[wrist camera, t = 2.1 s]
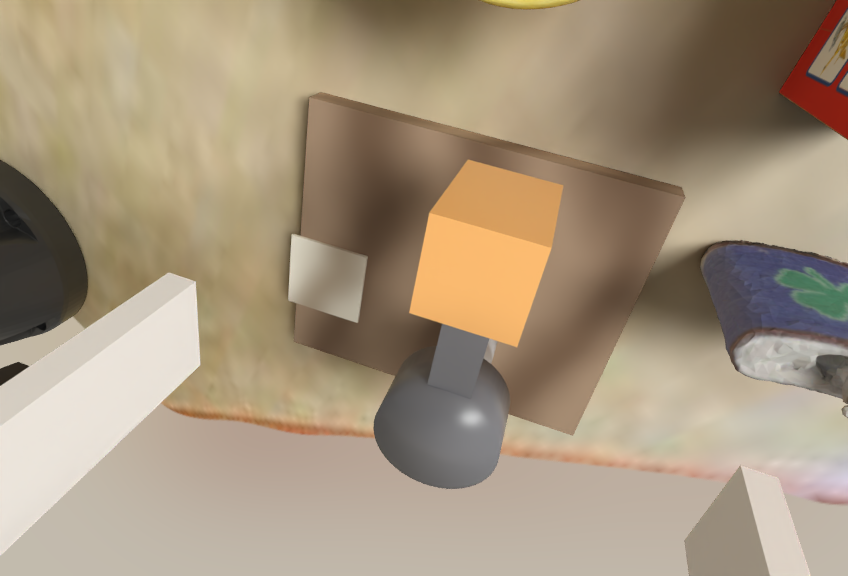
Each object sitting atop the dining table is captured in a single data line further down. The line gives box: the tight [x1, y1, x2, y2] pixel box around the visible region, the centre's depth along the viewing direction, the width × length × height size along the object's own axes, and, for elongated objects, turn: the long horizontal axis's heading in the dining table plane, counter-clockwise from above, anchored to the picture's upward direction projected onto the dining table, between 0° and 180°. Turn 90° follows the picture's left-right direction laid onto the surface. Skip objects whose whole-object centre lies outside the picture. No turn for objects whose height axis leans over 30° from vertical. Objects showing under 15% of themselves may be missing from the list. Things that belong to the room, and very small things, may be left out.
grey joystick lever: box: [374, 160, 563, 489], centre depth 24 cm, size 15×6×6 cm, turn 170°
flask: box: [700, 240, 848, 418], centre depth 24 cm, size 9×3×11 cm, turn 79°
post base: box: [288, 92, 685, 435], centre depth 31 cm, size 20×17×8 cm
